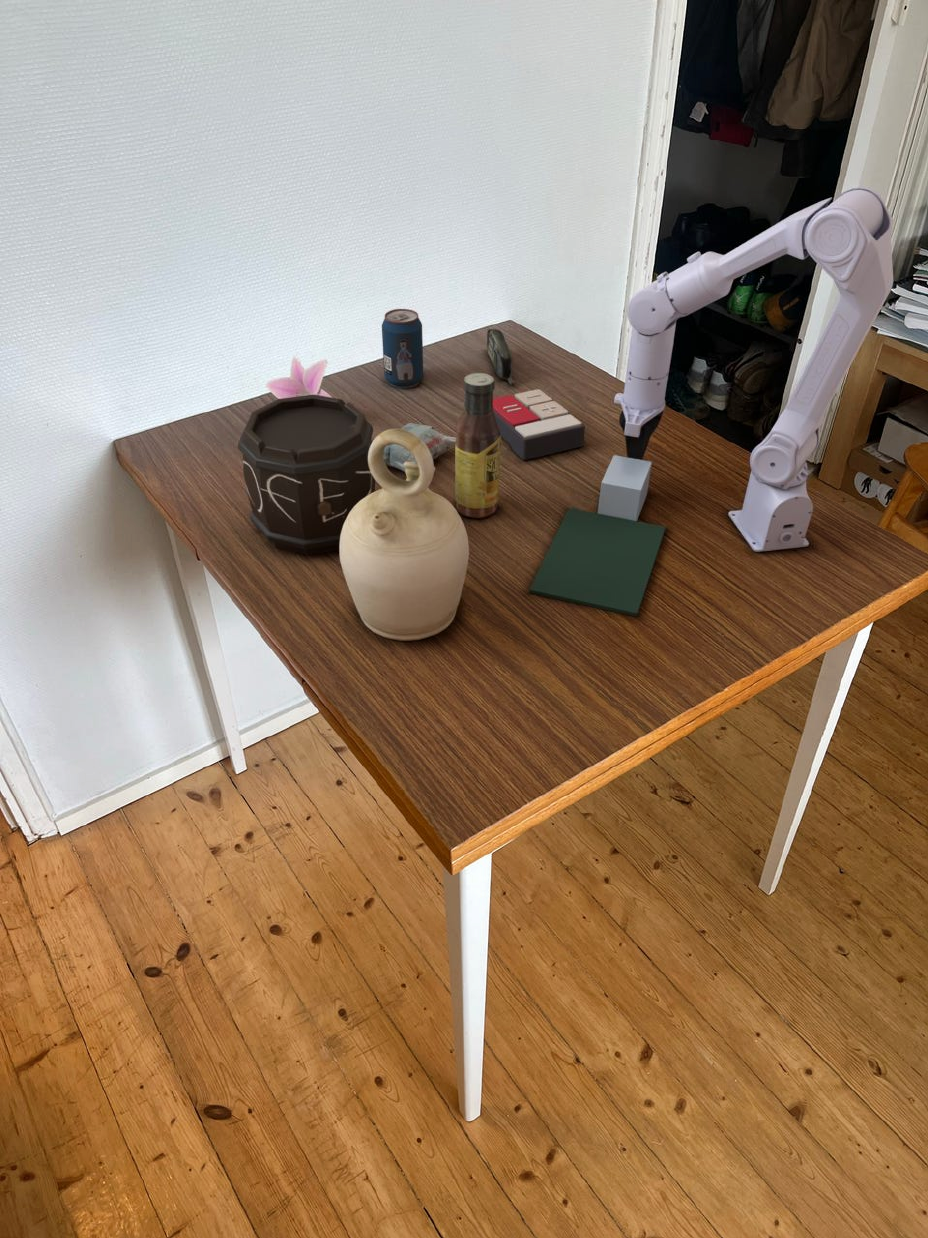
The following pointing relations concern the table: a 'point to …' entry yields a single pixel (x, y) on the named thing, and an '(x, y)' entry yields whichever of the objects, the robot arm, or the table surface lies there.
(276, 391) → the lily
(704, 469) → the table surface
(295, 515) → the octagonal coffee canister
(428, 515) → the jug
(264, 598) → the table surface
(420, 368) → the soda can
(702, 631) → the table surface
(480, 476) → the sauce bottle
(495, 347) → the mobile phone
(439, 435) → the packaged food
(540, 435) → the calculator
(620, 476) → the grey block
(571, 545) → the rubber mat
